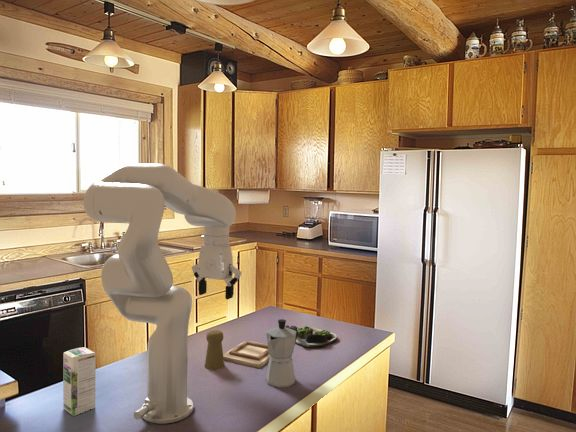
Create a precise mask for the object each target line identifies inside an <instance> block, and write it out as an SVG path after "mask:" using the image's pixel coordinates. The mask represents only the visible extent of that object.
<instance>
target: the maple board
mask: <svg viewBox="0 0 576 432" xmlns="http://www.w3.org/2000/svg"><path fill="white" fill-rule="evenodd" d="M270 357H271V356H270V355H269V351H268V343H267V344H266V343H261V342H257V341H252V340H247V339H246V340H244V341H243V342H241V343H239V344H238V345H236V346H234V347H233V348H231V349H229V350H228V351H226V352H225V353H223V358H224V362H231V363H235V364H239V365H243V366H248V367H253V368H257V369H260V368H261V367H263V366H264V365H265V364H267V363H269V358H270Z"/></svg>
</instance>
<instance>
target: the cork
mask: <svg viewBox="0 0 576 432" xmlns="http://www.w3.org/2000/svg"><path fill="white" fill-rule="evenodd" d="M205 337H206V341H207V348H206V355H205V360H204V361H205V362H204V368H205V369H206V370H210V371H218V370H221V369H223V368H224V367H225V360H224V358H223V354H224V352H223V351H224V350H223V341H224V333H223V332H222V331H221V330H218V329H213V330H210V331H208V332H207V333H206V336H205Z"/></svg>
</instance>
